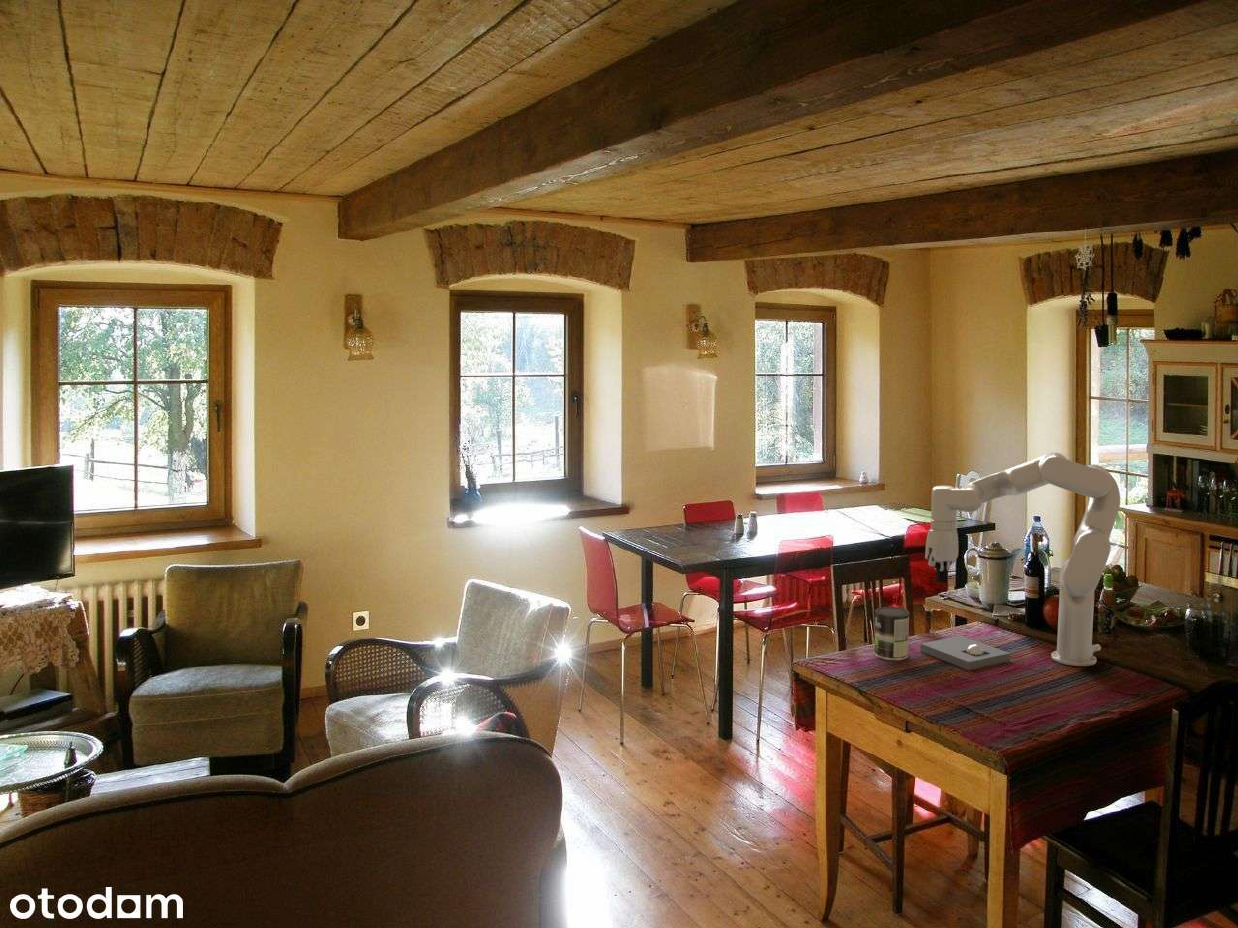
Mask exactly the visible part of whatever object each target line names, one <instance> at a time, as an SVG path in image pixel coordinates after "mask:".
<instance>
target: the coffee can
mask: <svg viewBox="0 0 1238 928" xmlns="http://www.w3.org/2000/svg"><path fill="white" fill-rule="evenodd" d="M874 612H875V620H874V623H875V624H874V653H873V654H874V656H875V657H876V658H879V659H882V660H886V661H902V660H906V659H907V658H908V657H909V631H910V630H909V627H910V624H909V623H910V615H911V614H910V611H909V610H908V609H905V608H901V607H897V606H895V607H894V606H884V607H883V606H882V607H878V608H876V609H875V611H874Z"/></svg>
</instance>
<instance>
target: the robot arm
mask: <svg viewBox="0 0 1238 928" xmlns="http://www.w3.org/2000/svg"><path fill="white" fill-rule="evenodd" d="M1046 485H1052V486H1055V487H1058V488H1060V489H1063V490H1066V491H1069V492H1073V493H1075V494H1078V495H1081V496H1085V497H1087V498H1088V501H1087V505H1086V508H1085V511H1084V514H1083V517H1082V519H1081V522H1080V523H1079V526H1078V529H1077V531H1076V533H1075V535H1074V537H1073V549H1072V552H1071V554H1070V557H1069V558H1068V559H1066V560H1065V561H1064V562H1063V563H1062V565H1061V567H1060V570H1059V571H1060V572H1059V602H1058V603H1059V604H1058V620H1057V621H1058V622H1057V637H1056V638H1057V641H1056V650H1054V651H1052V652H1051V653H1050V655H1051V656H1050V658H1051V659H1052V660H1053V661H1055V662H1056V663H1058V664H1063V665H1066V666H1072V667H1073V666H1075V667H1089V666H1090V667H1091V666H1093V665H1095V664H1096V663H1097V657H1096V655H1094V653H1095V652H1098V651H1101V649H1102V646H1101V645H1100V644H1099V643H1098V644H1093V627H1094V626H1093V625H1094V622H1093V621H1094V611H1095V610H1094V608H1095V590H1096V588H1097V587H1098V584H1099V582H1100V580H1101V577H1102V574H1103V572H1104V569H1105V567H1106V565H1107V563H1108V559H1109V557H1110V553H1111V541H1110V538H1111V533H1112V531H1113V528H1114V526H1115V522H1116V519H1117V517H1118V515H1119V511H1120V507H1121V494H1120V492H1121V491H1120V489H1119V486H1118V483H1117V481H1116V480H1115V478H1114V477H1113V475H1112V474H1111V473H1110V472H1109V471H1108V470H1107V469H1106V468H1104V467H1103V466H1102V465H1099V464H1089V465H1084V464H1082V463H1078V462H1076V461H1073V460H1070V459H1067V457H1066V456H1065V455H1063V454H1062V453H1059V452H1050V453H1046V454H1044V455H1041V456H1038V457H1035V458H1034V459H1030V460H1028V461H1026V462H1023V463H1020V464H1017V465H1015V466H1013V467H1009V468H1007V469H1004V470H1001V471H999V472H996V473H993V474H989V475H987V476H983V477H982V478H980V479H979V478H978V479H977V480H974V481H971V482H969V483H966V484H965V485H963V486H962V487H961V488H956V487H954V486H951V485H936V486H934V487H933V488H932V489H931V504H930V505H931V512H930V529H928V532H927V535H926V541H925V554H924V558H925V560H927V561H928V563H927V565H928V566H930V567H934V570H936V571H935V572H936V573H935V575H936V576H935V577H936V578H935V580H936V581H935V582H937V583H940V584H947V583H948V577H949V576H948V572H949V571H950V568H951V566H952V564H955V563H956V562H957V559H958V557H959V549H960V548H959V534H958V530H957V524H958V521H957V511H958V512H964V513H974V512H978V510H979V509H980V508H981V507H982V505H983V504H984V503H987V502H990V501H993V500H995V499H998V498H1002V497H1005V496H1006V497H1007V496H1018V495H1023V494H1026V493H1028V492H1031V491H1033V490H1036V489H1038V488H1041V487H1043V486H1044V487H1045V486H1046Z"/></svg>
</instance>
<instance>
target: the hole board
mask: <svg viewBox="0 0 1238 928" xmlns="http://www.w3.org/2000/svg"><path fill="white" fill-rule="evenodd" d="M972 644H977V645H979V646H981V647H982V649H983V651H984V655H982V656H977V657H975V656H972V655H969V654H967V653H966V651H967V648H968V647H969V646H970V645H972ZM920 652H922V653H924V654H927V655H929V656H932V657H933V658H936V659H939V660H942V661H944V662H947V663H949V664H952V665H953V666H957V667H959V668H962V669H965V670H967V671H970V670H975V669H980V668H984V667H990V666H994V665H998V664H1003V663H1007V662H1011V653H1010V652H1008V651H1005V650H1002V649H999V648H997V647H994V646H991V645H988V644H986V643H983V642H980V641H978V640H975V639H971V638H969V637H966V636H963V635H959V636H957V635H956V636H953V637H947V638H943V639H941V638H940V639H938V640H932V641H928V642H922V643H920Z"/></svg>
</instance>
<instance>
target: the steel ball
mask: <svg viewBox="0 0 1238 928" xmlns="http://www.w3.org/2000/svg"><path fill="white" fill-rule="evenodd" d="M966 653H967V654H969V655H972V656H975V657H977V656H982V655H984V651H983V649H982V647H981V646H979V645H977V644H972V645H970V646H969V647H968V648H967V651H966Z"/></svg>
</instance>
